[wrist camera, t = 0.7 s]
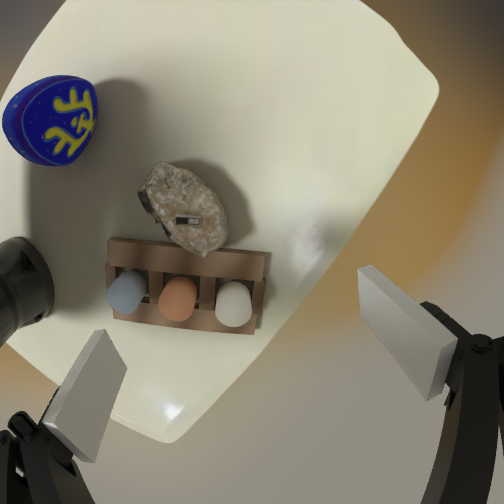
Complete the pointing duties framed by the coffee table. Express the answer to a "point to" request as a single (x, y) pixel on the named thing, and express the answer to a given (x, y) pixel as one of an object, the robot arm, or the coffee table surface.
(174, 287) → the button terracotta
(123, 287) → the button slate
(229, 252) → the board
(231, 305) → the button cream
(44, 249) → the coffee table surface
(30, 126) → the ornament
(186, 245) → the stone
